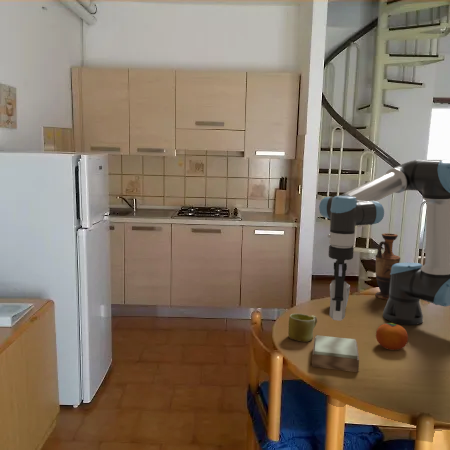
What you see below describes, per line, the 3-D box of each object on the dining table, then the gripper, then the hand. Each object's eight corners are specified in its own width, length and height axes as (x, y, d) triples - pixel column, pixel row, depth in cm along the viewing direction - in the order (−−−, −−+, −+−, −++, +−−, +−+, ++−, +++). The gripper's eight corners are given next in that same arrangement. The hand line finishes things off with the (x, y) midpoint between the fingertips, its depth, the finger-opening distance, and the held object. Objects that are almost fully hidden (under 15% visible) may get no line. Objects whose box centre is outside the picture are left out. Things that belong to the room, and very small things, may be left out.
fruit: (407, 356, 150) (409, 333, 149) (374, 351, 154) (376, 328, 153) (406, 343, 160) (408, 322, 159) (375, 339, 164) (377, 318, 162)
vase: (393, 293, 218) (398, 232, 213) (400, 301, 207) (405, 236, 202) (370, 292, 219) (374, 231, 214) (375, 300, 208) (380, 236, 203)
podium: (356, 352, 152) (357, 338, 151) (358, 372, 139) (359, 356, 138) (314, 348, 155) (314, 334, 154) (312, 366, 142) (312, 351, 141)
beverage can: (327, 315, 147) (329, 279, 145) (341, 314, 147) (343, 279, 145) (332, 320, 142) (334, 283, 140) (347, 320, 142) (349, 283, 141)
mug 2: (352, 312, 191) (354, 289, 189) (332, 312, 191) (334, 289, 189) (345, 303, 202) (347, 282, 200) (327, 303, 202) (328, 281, 200)
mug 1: (298, 342, 155) (298, 312, 158) (281, 340, 164) (282, 312, 167) (326, 343, 161) (326, 314, 163) (309, 341, 170) (309, 314, 172)
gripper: (329, 239, 150) (325, 306, 154) (328, 250, 133) (324, 325, 137) (352, 241, 149) (348, 308, 152) (355, 252, 131) (350, 328, 135)
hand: (337, 316), depth 145 cm, fingers closed on beverage can, 5 cm apart
